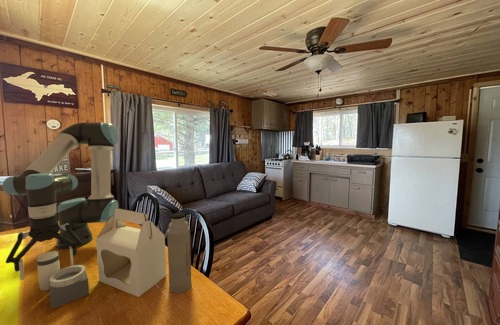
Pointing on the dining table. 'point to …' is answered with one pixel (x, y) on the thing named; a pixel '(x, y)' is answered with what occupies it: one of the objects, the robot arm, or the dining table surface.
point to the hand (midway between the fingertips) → (48, 270)
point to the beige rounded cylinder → (47, 268)
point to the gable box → (131, 253)
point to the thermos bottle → (179, 254)
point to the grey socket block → (68, 285)
